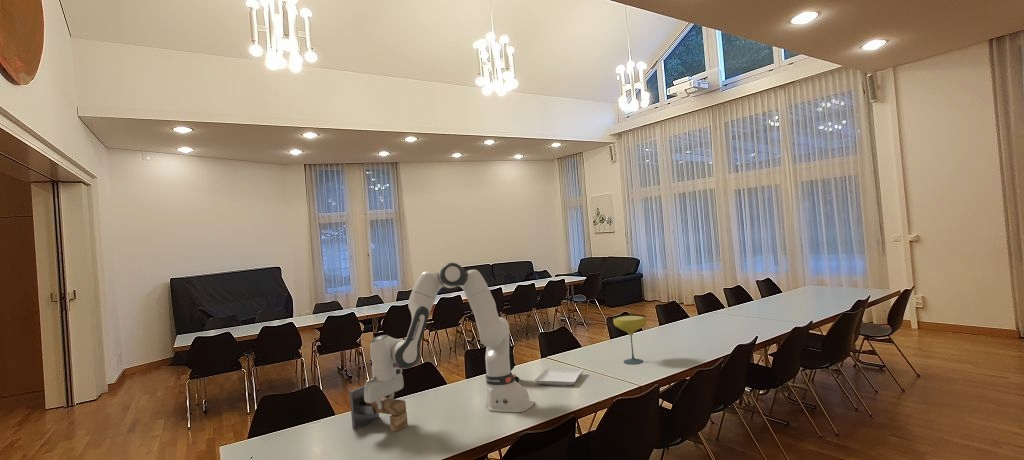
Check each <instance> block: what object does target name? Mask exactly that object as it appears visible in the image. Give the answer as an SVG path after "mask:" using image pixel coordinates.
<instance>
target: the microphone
mask: <svg viewBox="0 0 1024 460" xmlns="http://www.w3.org/2000/svg"><path fill="white" fill-rule="evenodd" d="M514 349H515V348H514V345H512V340H511V335H510V333H509V360H510V371H511V372H512V371H513V369H514V368H515V356H514V351H515V350H514ZM515 376H516V377H514V379H515V381H516V382H517V383H519V382H520V378H519V377H518V376H517V375H515Z"/></svg>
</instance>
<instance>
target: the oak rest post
mask: <svg viewBox="0 0 1024 460" xmlns="http://www.w3.org/2000/svg"><path fill="white" fill-rule="evenodd" d="M389 424H390V431H391V432H397V433H398V432H400V431H403V429H406V428H408V426H409V422H408V413H407V411H406V413H404V414H402V415H400V416H396V415H391V414H390V415H389Z"/></svg>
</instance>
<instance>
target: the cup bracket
mask: <svg viewBox="0 0 1024 460" xmlns="http://www.w3.org/2000/svg"><path fill="white" fill-rule="evenodd" d="M364 388H365V387H364V385H362V386H359V387H357V388H355V389H352V390H350V391H349V403H350V414H351V424H352V425H351V426H352V429H353V430H356V429H358V428H360V427H362V426H363V425H366V424H368V423H370V422H372V421H374V420H376V419H378V418H380V413H379V412H374V407H372V406H366V402H365V401H364ZM377 417H378V418H377ZM373 419H374V420H373ZM371 420H372V421H371ZM369 421H370V422H369Z"/></svg>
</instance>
